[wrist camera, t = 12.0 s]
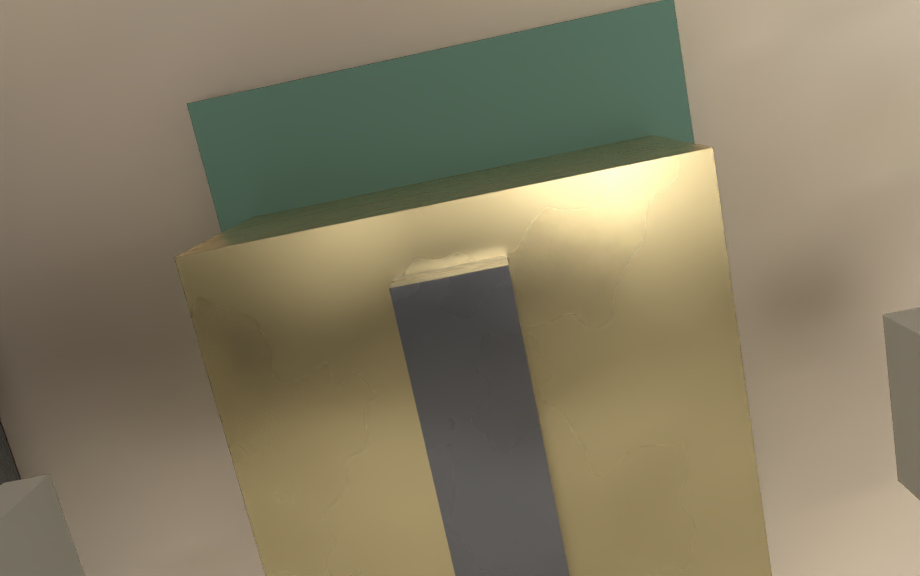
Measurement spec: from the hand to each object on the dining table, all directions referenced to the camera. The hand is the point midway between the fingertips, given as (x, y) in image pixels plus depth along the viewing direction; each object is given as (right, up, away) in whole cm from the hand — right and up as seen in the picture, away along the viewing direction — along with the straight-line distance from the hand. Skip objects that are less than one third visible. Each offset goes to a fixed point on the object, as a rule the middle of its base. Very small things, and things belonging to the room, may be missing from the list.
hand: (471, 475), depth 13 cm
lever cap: (0, +1, +5) cm, 5 cm away
